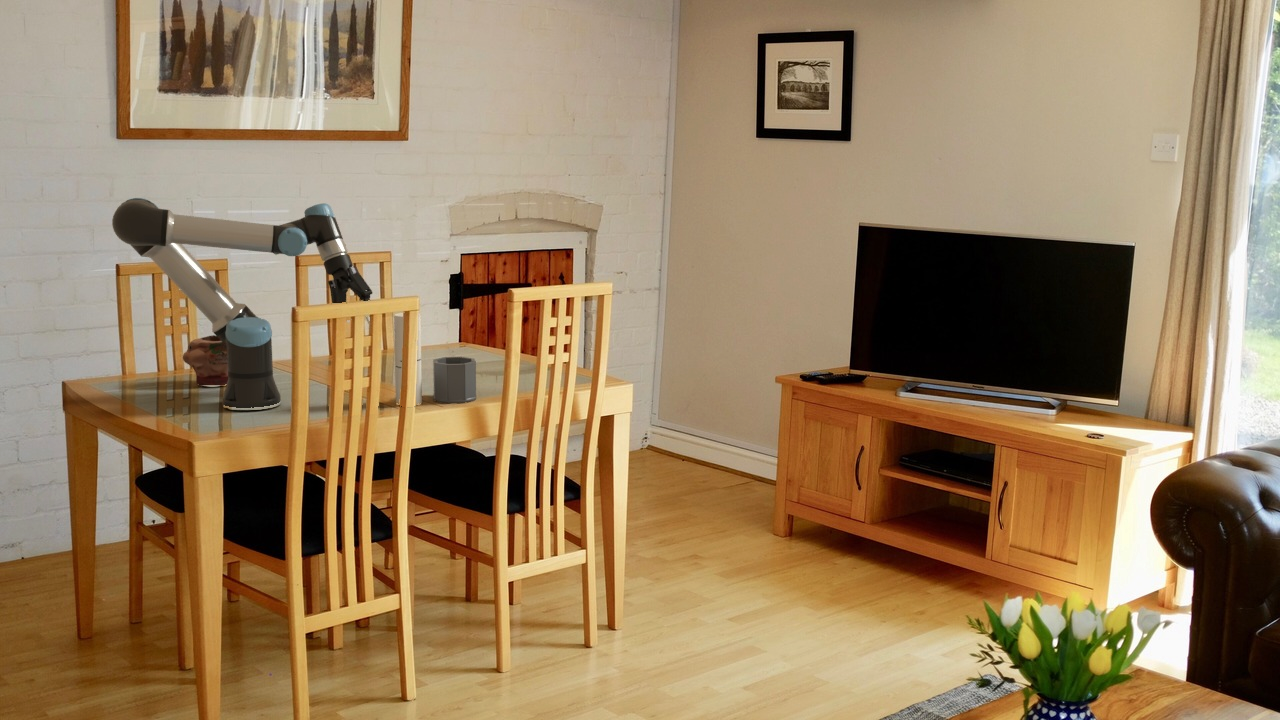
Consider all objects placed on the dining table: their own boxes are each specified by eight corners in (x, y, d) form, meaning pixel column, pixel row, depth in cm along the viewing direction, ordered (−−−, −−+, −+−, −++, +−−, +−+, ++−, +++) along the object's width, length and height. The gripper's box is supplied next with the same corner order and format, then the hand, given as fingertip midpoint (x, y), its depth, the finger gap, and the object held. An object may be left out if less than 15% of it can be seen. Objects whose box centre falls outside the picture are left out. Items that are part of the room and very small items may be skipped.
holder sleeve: (434, 404, 342) (434, 365, 339) (432, 394, 353) (431, 357, 351) (478, 402, 344) (478, 364, 342) (474, 393, 356) (473, 356, 354)
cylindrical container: (416, 407, 338) (414, 317, 333) (391, 405, 339) (389, 315, 334) (425, 401, 345) (424, 313, 340) (401, 400, 346) (400, 312, 341)
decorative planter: (249, 377, 373) (247, 332, 370) (260, 384, 362) (258, 338, 360) (180, 383, 362) (178, 336, 360) (189, 391, 352) (186, 343, 349)
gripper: (366, 241, 340) (393, 313, 340) (328, 267, 358) (354, 335, 358) (343, 247, 335) (370, 320, 335) (305, 273, 353) (331, 342, 353)
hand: (362, 328), depth 346 cm, fingers open, 13 cm apart
